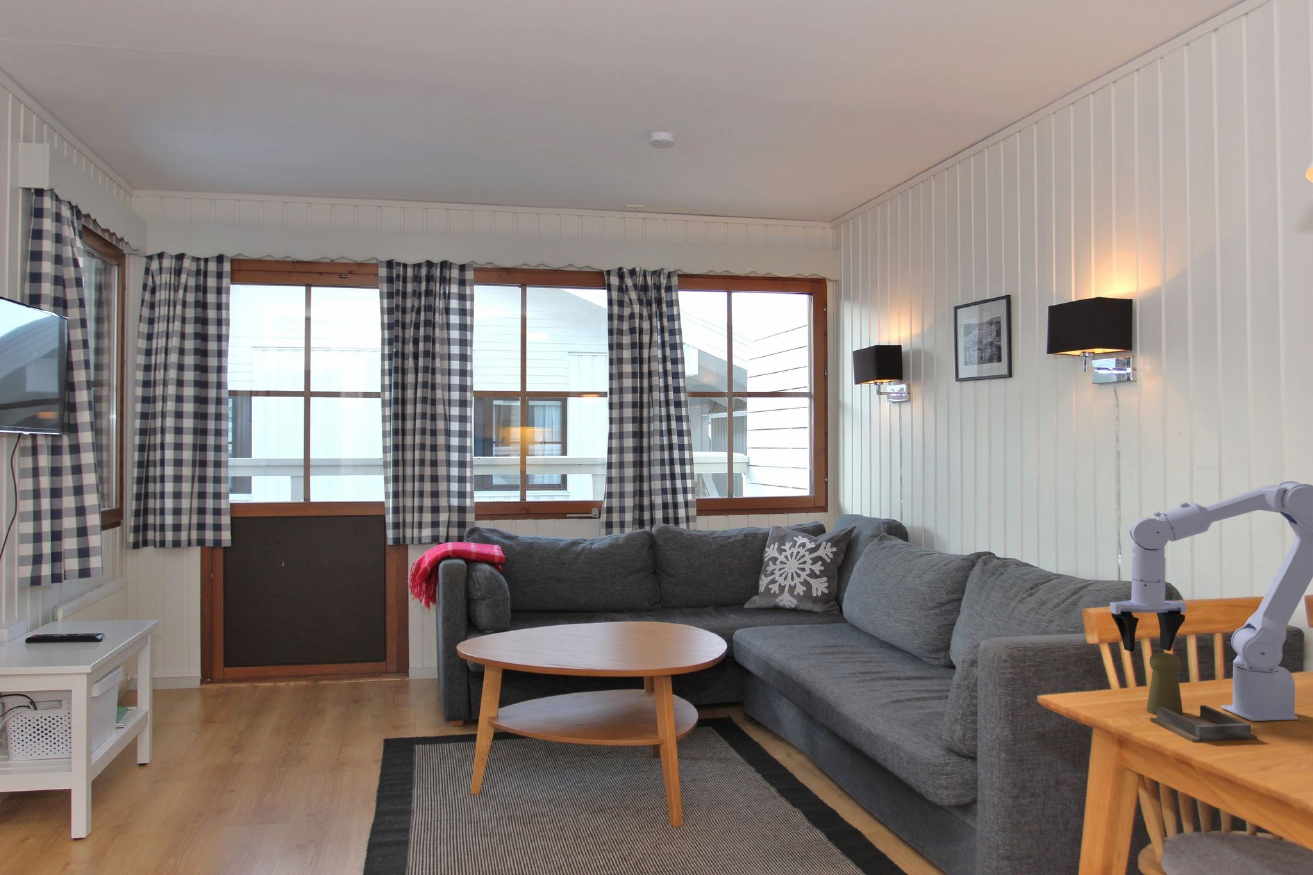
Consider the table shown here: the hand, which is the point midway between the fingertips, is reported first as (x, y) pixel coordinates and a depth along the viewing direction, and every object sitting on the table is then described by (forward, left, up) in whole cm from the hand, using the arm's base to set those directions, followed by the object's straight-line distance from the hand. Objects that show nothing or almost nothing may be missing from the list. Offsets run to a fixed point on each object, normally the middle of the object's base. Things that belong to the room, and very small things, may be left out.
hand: (1147, 650), depth 176 cm
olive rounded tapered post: (0, +5, -11) cm, 12 cm away
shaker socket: (0, +14, -10) cm, 18 cm away
